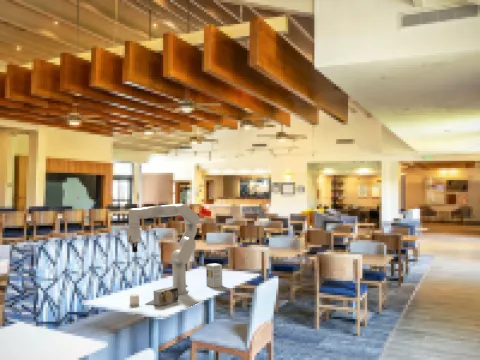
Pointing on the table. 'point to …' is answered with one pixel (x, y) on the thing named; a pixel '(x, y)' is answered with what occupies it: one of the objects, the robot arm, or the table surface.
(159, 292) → the coffee box
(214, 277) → the supplement box
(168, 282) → the table surface
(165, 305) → the slate mat
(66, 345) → the table surface
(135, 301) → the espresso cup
